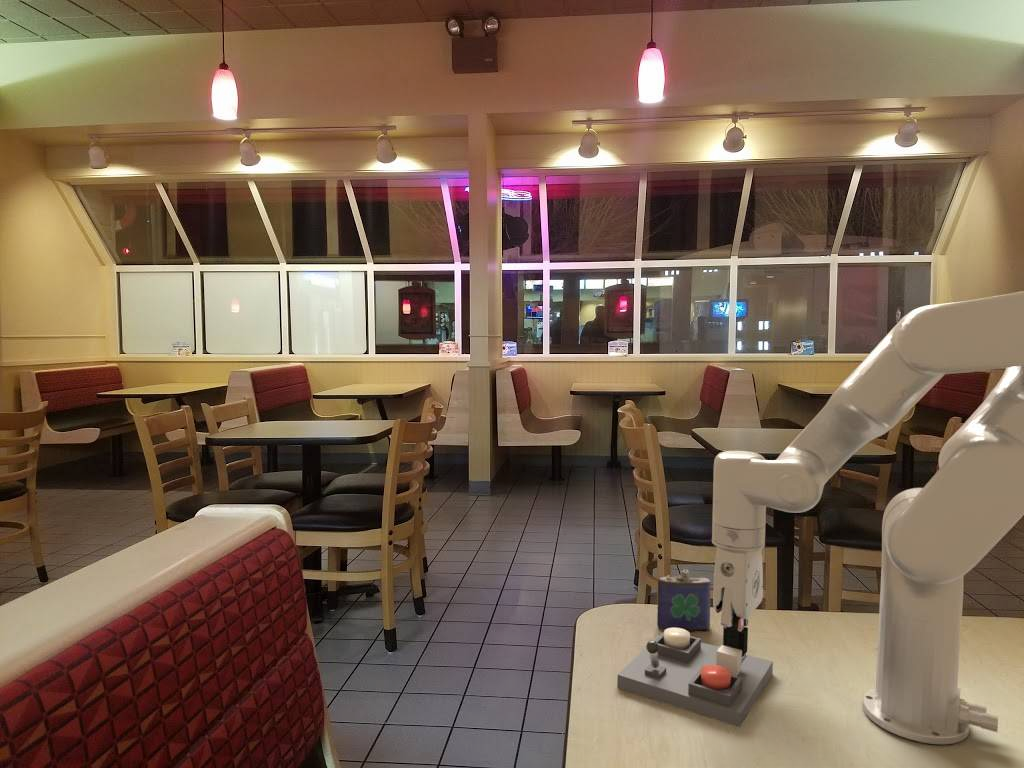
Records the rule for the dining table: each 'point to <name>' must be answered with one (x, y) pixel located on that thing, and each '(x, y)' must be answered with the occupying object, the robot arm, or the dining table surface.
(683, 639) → the ivory button
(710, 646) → the panel
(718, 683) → the red button
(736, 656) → the beige cube
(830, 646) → the dining table surface
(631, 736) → the dining table surface
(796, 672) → the dining table surface
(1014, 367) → the robot arm
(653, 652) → the toggle lever
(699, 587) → the flask
